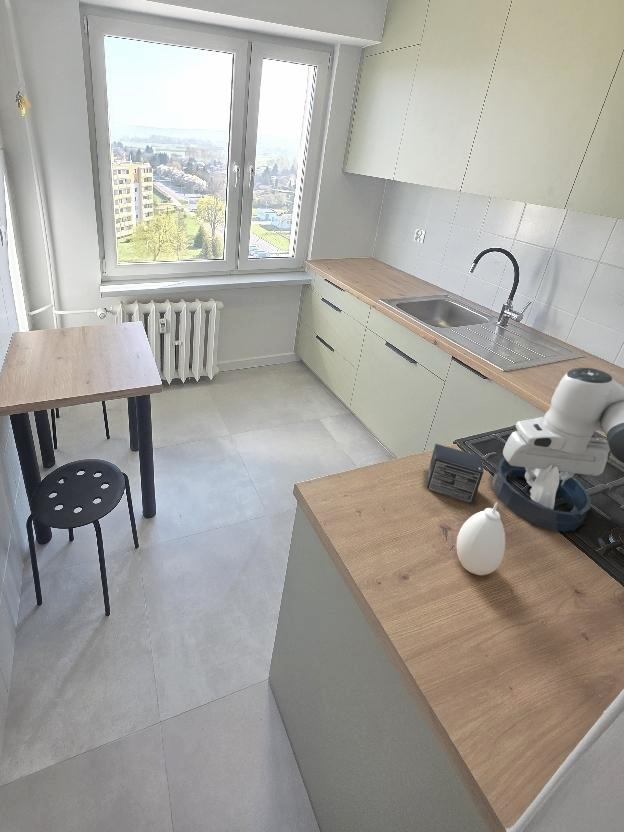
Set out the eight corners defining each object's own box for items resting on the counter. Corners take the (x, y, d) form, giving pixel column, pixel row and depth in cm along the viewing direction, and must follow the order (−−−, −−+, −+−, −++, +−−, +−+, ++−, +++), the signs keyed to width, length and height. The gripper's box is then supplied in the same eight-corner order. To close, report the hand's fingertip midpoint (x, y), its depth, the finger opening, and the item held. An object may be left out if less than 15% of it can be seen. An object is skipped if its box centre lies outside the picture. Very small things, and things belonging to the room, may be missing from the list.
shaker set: (551, 516, 95) (568, 480, 90) (529, 509, 96) (546, 472, 92) (544, 481, 104) (559, 447, 100) (524, 475, 106) (539, 441, 102)
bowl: (553, 477, 109) (561, 459, 106) (599, 539, 92) (610, 519, 89) (479, 468, 111) (486, 450, 108) (511, 527, 94) (519, 508, 91)
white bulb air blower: (454, 579, 82) (479, 513, 75) (447, 545, 89) (469, 482, 82) (498, 591, 80) (528, 524, 73) (487, 555, 87) (513, 491, 80)
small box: (471, 487, 104) (483, 455, 100) (472, 506, 99) (485, 473, 94) (426, 473, 108) (435, 441, 104) (425, 491, 103) (435, 458, 98)
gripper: (604, 431, 95) (582, 477, 100) (509, 420, 97) (492, 466, 103) (624, 449, 89) (599, 497, 95) (522, 438, 91) (504, 485, 97)
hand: (542, 481), depth 99 cm, fingers closed on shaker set, 5 cm apart
